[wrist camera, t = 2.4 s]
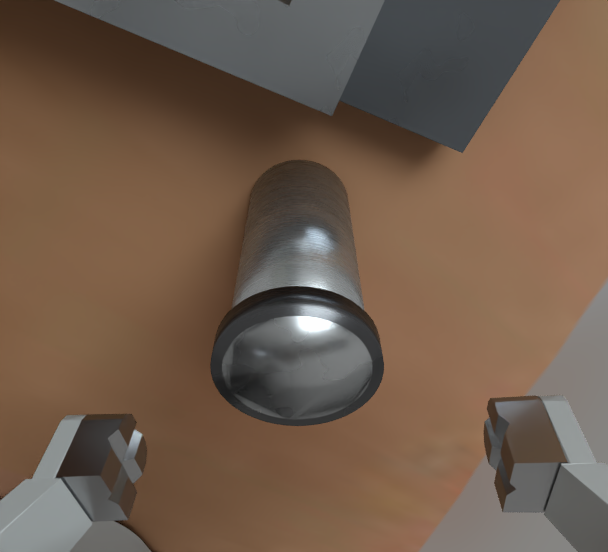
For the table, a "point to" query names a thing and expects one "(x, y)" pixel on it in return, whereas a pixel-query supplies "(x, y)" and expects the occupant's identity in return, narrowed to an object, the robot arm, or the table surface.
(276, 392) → the pin
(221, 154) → the table surface
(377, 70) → the square-holed grey plate
